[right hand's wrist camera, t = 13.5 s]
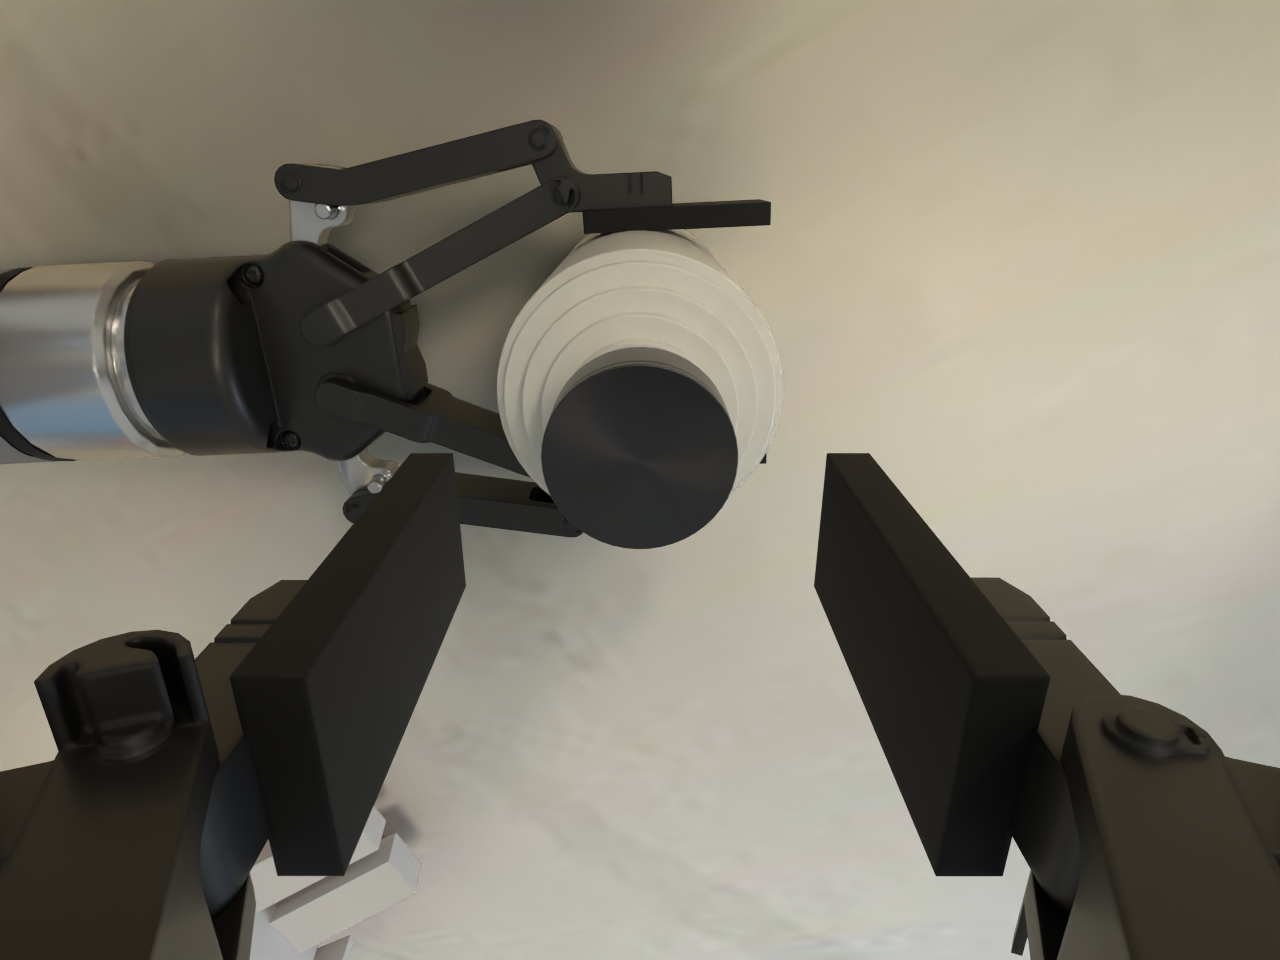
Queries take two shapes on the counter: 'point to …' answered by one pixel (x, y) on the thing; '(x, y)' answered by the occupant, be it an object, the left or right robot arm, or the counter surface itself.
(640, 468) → the cap
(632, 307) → the bottle
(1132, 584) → the counter surface
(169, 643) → the right robot arm
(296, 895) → the toy
